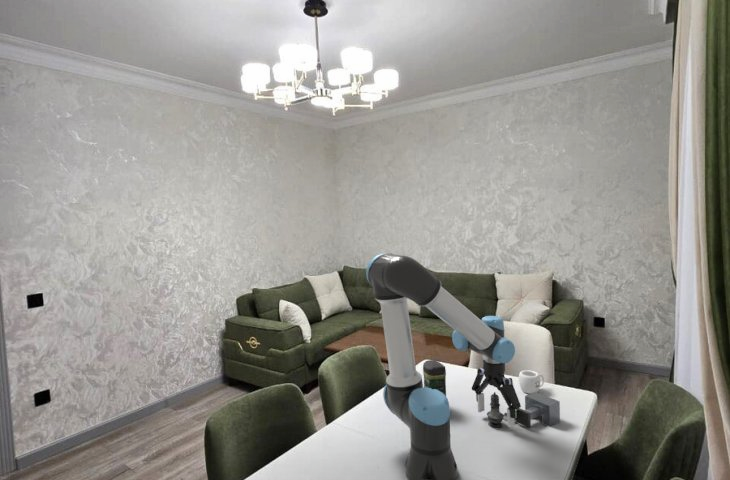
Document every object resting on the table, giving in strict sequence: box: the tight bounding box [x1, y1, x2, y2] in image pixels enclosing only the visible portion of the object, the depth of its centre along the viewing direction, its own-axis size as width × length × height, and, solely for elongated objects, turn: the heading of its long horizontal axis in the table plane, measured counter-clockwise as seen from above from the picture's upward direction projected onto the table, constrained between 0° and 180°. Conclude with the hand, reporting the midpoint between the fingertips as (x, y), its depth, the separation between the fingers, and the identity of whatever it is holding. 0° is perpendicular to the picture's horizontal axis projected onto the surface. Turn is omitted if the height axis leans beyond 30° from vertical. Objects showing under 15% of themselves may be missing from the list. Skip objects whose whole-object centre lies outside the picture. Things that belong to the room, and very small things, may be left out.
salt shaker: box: [486, 391, 504, 429], centre depth 146 cm, size 6×6×12 cm
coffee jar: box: [422, 359, 447, 397], centre depth 159 cm, size 10×8×19 cm
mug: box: [518, 369, 545, 395], centre depth 172 cm, size 12×8×8 cm
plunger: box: [504, 406, 542, 429], centre depth 147 cm, size 9×10×5 cm
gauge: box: [502, 392, 561, 428], centre depth 148 cm, size 15×14×8 cm
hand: (495, 418), depth 146 cm, fingers open, 13 cm apart
